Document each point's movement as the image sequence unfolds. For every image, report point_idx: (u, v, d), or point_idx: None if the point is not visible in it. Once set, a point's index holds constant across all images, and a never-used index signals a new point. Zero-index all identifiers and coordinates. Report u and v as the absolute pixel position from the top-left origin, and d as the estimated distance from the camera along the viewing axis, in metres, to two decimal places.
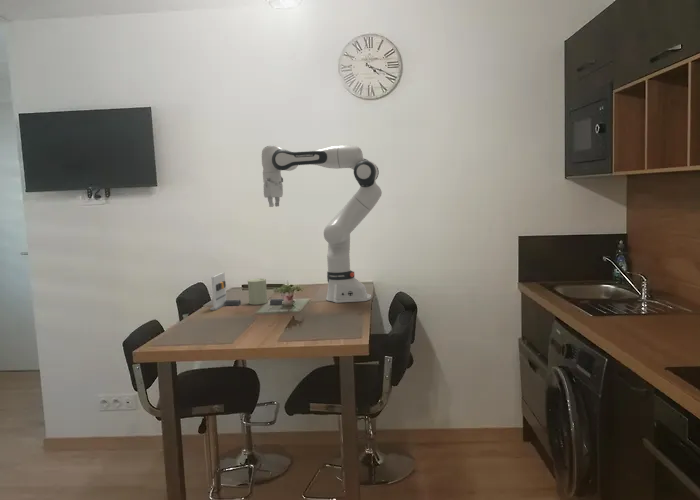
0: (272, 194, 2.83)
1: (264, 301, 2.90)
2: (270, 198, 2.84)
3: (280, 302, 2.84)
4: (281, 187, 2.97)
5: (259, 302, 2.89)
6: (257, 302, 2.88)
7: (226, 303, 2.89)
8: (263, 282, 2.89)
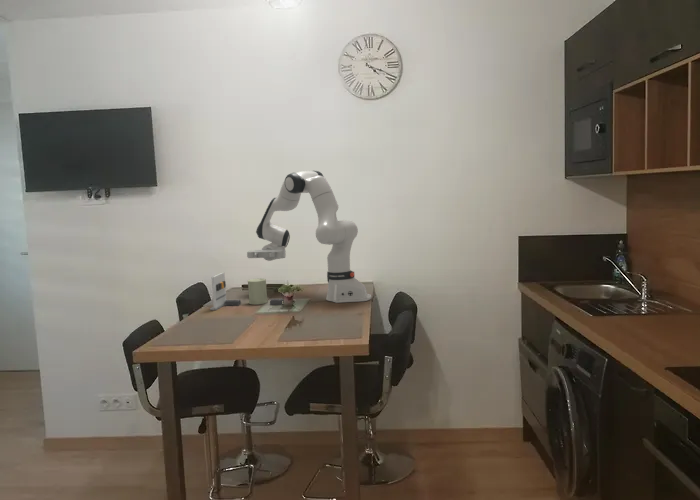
0: (252, 251, 3.09)
1: (264, 301, 2.90)
2: None
3: (280, 302, 2.84)
4: (281, 249, 3.10)
5: (259, 302, 2.89)
6: (257, 302, 2.88)
7: (226, 303, 2.89)
8: (263, 282, 2.89)
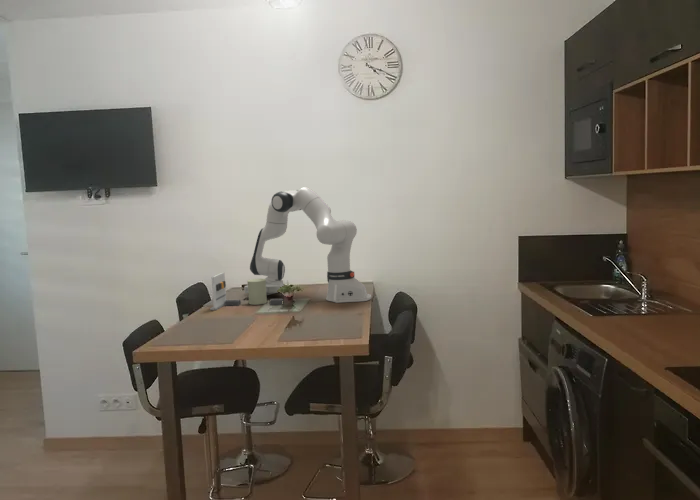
0: None
1: (264, 301, 2.90)
2: None
3: (280, 302, 2.84)
4: (279, 283, 3.04)
5: (259, 302, 2.88)
6: (257, 302, 2.88)
7: (226, 303, 2.89)
8: (263, 282, 2.89)
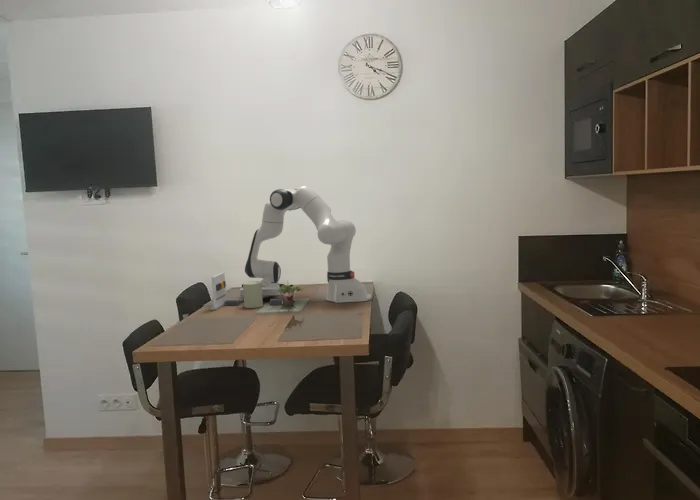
0: None
1: (260, 304, 2.83)
2: None
3: (280, 302, 2.84)
4: (275, 286, 2.97)
5: (255, 305, 2.81)
6: (253, 305, 2.81)
7: (226, 303, 2.89)
8: (259, 285, 2.82)
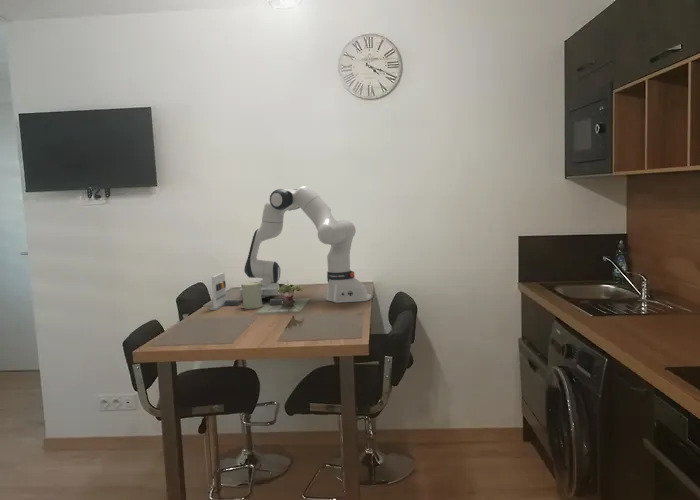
0: None
1: (259, 305, 2.81)
2: None
3: (280, 302, 2.84)
4: (275, 286, 2.96)
5: (254, 306, 2.79)
6: (252, 306, 2.79)
7: (226, 303, 2.89)
8: (258, 285, 2.80)
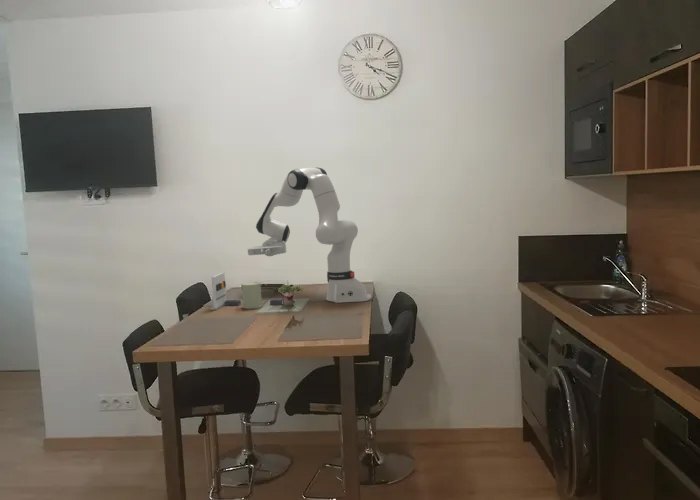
0: (252, 248, 3.08)
1: (259, 305, 2.81)
2: None
3: (280, 302, 2.84)
4: (282, 244, 3.09)
5: (254, 306, 2.79)
6: (252, 306, 2.79)
7: (226, 303, 2.89)
8: (258, 285, 2.80)
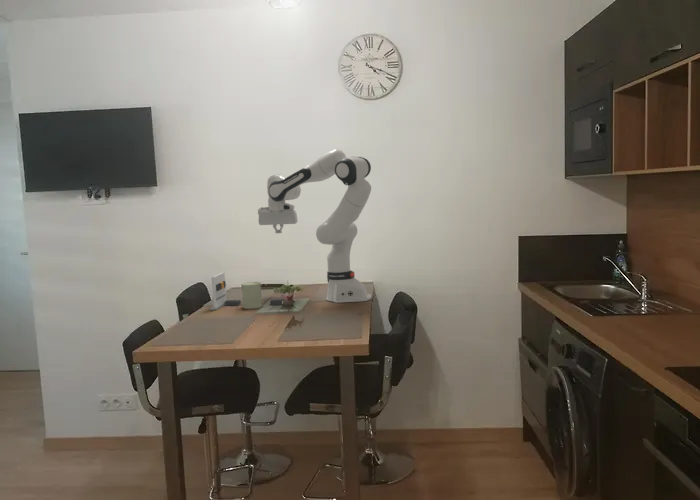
0: (263, 222, 3.03)
1: (259, 305, 2.81)
2: None
3: (280, 302, 2.84)
4: (291, 214, 3.00)
5: (254, 306, 2.79)
6: (252, 306, 2.79)
7: (226, 303, 2.89)
8: (258, 285, 2.80)
